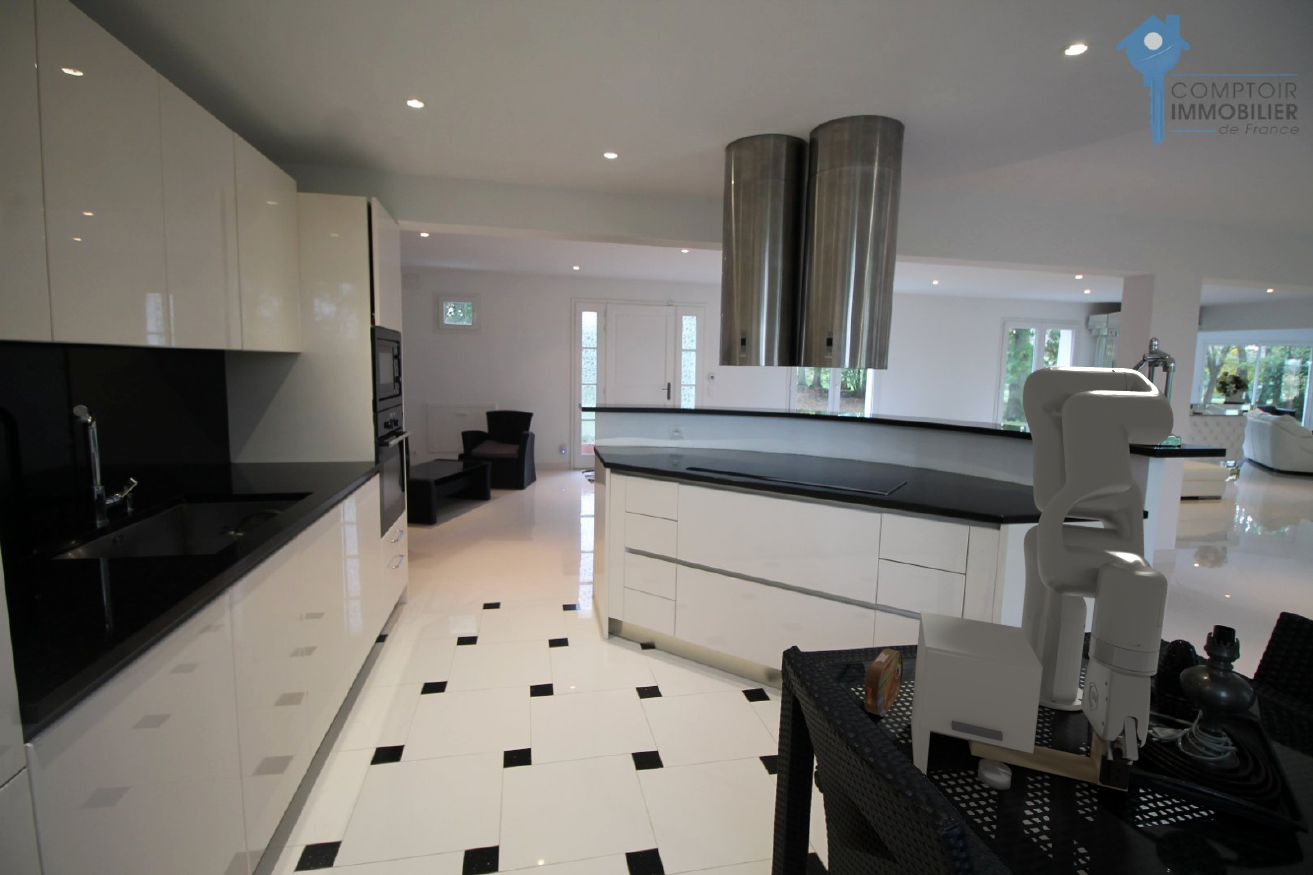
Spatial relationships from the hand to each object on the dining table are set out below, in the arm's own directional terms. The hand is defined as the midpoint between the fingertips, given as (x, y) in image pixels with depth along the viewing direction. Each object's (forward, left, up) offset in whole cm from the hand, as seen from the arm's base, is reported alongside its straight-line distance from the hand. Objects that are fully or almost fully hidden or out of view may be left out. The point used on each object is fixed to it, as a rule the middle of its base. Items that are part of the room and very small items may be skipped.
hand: (1107, 775), depth 84 cm
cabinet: (+3, -18, -1) cm, 19 cm away
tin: (-9, -30, -1) cm, 31 cm away
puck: (+6, -15, -1) cm, 16 cm away
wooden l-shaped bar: (0, -8, -1) cm, 8 cm away
